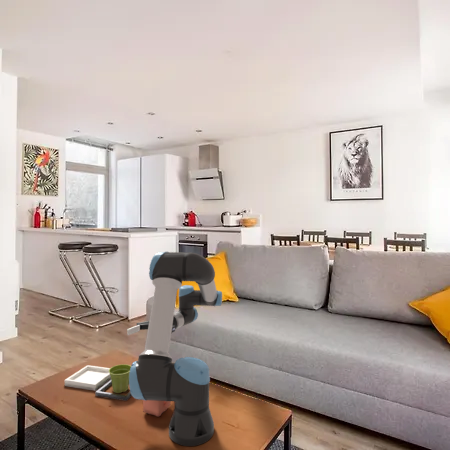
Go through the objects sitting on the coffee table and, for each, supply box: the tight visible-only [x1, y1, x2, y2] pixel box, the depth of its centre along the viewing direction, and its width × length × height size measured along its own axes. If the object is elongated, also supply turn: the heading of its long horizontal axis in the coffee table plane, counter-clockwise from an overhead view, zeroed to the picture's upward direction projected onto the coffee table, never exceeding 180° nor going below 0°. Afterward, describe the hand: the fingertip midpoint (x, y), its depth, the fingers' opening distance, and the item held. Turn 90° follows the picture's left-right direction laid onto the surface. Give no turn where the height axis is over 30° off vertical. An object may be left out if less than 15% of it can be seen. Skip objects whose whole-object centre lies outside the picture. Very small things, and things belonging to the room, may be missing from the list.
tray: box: [64, 364, 111, 392], centre depth 145 cm, size 15×15×2 cm
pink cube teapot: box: [142, 400, 172, 417], centre depth 122 cm, size 8×12×8 cm, turn 66°
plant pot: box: [109, 363, 132, 394], centre depth 137 cm, size 9×9×9 cm
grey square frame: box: [94, 379, 133, 402], centre depth 137 cm, size 14×14×2 cm
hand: (137, 336), depth 143 cm, fingers open, 13 cm apart
